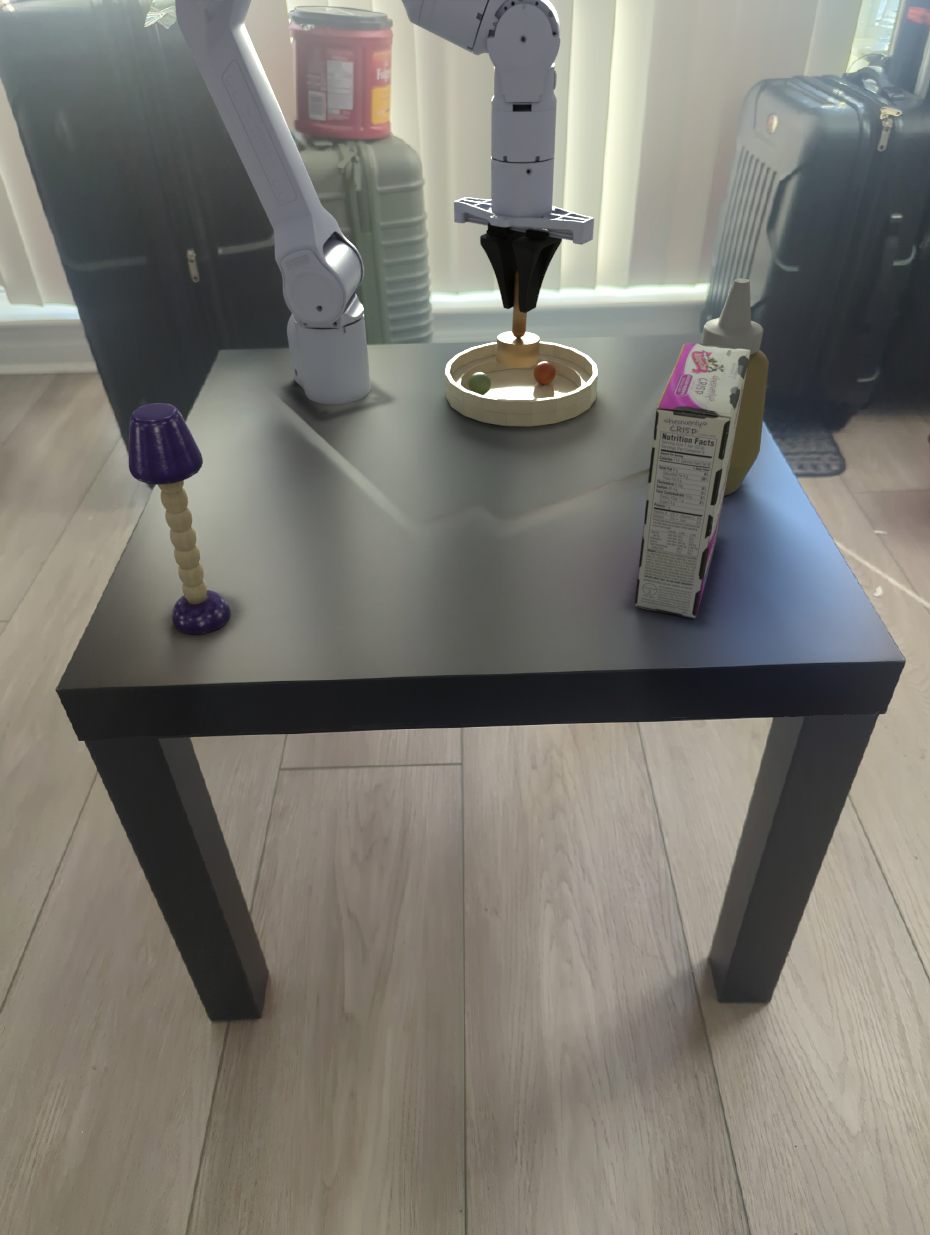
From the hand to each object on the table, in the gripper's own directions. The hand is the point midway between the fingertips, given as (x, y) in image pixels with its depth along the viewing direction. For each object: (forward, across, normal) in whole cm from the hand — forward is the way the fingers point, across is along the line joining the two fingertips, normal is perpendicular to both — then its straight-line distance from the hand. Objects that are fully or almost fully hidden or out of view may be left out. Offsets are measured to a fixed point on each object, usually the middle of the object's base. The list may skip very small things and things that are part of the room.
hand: (519, 307), depth 86 cm
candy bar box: (+10, +28, -19) cm, 35 cm away
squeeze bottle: (+10, +24, -5) cm, 26 cm away
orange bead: (+9, +1, +5) cm, 10 cm away
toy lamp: (+10, +1, -44) cm, 46 cm away
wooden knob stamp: (+5, 0, 0) cm, 5 cm away
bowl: (+10, 0, 0) cm, 10 cm away
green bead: (+8, -3, -1) cm, 9 cm away
